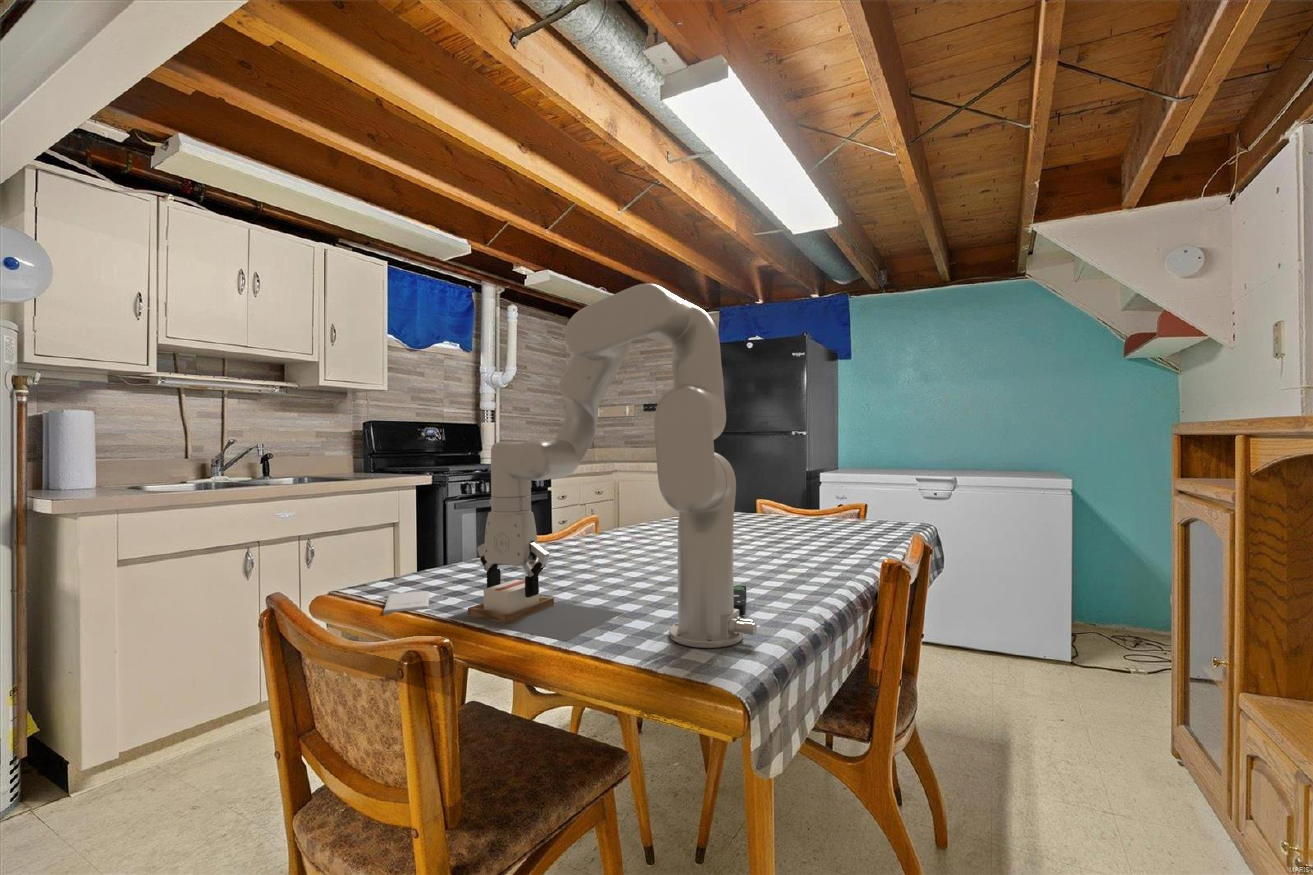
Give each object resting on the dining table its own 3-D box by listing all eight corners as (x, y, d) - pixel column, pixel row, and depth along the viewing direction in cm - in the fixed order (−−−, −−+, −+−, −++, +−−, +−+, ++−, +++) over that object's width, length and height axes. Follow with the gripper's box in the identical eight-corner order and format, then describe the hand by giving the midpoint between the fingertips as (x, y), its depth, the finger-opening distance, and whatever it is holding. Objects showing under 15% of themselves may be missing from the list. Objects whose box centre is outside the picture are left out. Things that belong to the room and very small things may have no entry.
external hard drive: (429, 598, 132) (428, 613, 121) (388, 602, 130) (383, 618, 118) (429, 590, 132) (428, 605, 121) (388, 594, 130) (383, 609, 118)
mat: (623, 615, 116) (623, 612, 116) (566, 643, 101) (566, 640, 101) (512, 597, 130) (512, 595, 130) (446, 620, 114) (446, 617, 114)
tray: (553, 606, 122) (553, 598, 122) (508, 624, 110) (508, 615, 110) (515, 599, 126) (515, 592, 126) (467, 616, 115) (467, 608, 115)
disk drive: (745, 619, 116) (746, 597, 130) (745, 604, 116) (746, 584, 130) (691, 617, 117) (698, 596, 132) (691, 602, 117) (698, 583, 132)
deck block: (507, 617, 113) (507, 592, 113) (483, 612, 116) (483, 588, 116) (539, 605, 121) (539, 581, 121) (516, 601, 124) (516, 578, 124)
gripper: (464, 505, 119) (465, 592, 119) (533, 509, 111) (534, 603, 111) (492, 501, 126) (493, 584, 126) (558, 505, 117) (560, 593, 117)
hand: (512, 592), depth 118 cm, fingers open, 9 cm apart
